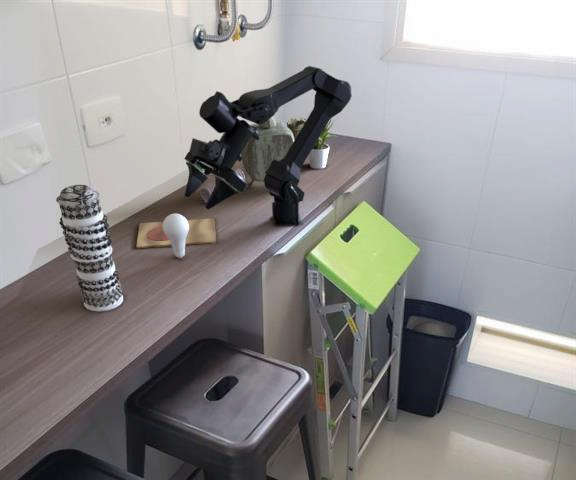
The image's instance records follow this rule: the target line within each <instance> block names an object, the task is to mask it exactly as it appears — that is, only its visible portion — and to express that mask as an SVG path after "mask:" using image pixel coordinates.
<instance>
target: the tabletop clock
mask: <svg viewBox="0 0 576 480" xmlns="http://www.w3.org/2000/svg"><path fill="white" fill-rule="evenodd" d="M279 109H280V107H279V108H278V109H277V111H276V113H277V112H278V111H279ZM249 125H250V126H255V127H257V128H258V134H259V140H256V139H253V138H250V140H249V141H248V143H247V144H246V146H245V148H244V149H243V151H242V153H241V154H240V156H241V157H242V160H241V163H242V166H243V169H244V172H246V174H247V176H249V178H250V179H251V181H249V182H248V183H247V187H248V188H250V189H251V188H253V186H254V184H253V183H254V182H264V178H265V175H266V173H265V172H266V171H267V170H268V168H269V167H270V165H271V162H272V161H273V160H274V159H275V160H277V161H280V160H281V159H283V158H284V157H285V156H286V154H287V152H288V151H289V149H290V147H291V145H292V144H293V142H294V136H293V133H292V131H291V130H290V129H289V128H288V127H287V125H286V124H285V123H283V122H279V121H276V119H275V118H274V116H272V117H271V118H270V119H269V120H268V121H266V122H265V123H263V124H256V123H252V124H249Z"/></svg>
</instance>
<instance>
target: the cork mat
mask: <svg viewBox="0 0 576 480" xmlns="http://www.w3.org/2000/svg"><path fill="white" fill-rule="evenodd" d="M187 221H188V224H189V231H188V234H187V236H186V240H185V246H189V245H191V246H192V245H203V244H217V238H216V226H215V217H214V218H213V217H211V218H197V219H196V218H195V219H187ZM163 222H164V221H153V222H140V223H139V225H138V231H137V238H136V246H135V248H136V249H147V248H148V249H149V248H160V247H162V248H163V247H172V244H171V241H170V240H169V238H168V237H167V236H166V234H165V233H164V230H163Z"/></svg>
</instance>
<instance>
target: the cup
mask: <svg viewBox="0 0 576 480" xmlns="http://www.w3.org/2000/svg"><path fill="white" fill-rule="evenodd" d="M301 119H303V117H301V118H299V119H297V117H295V118H290V119H288V120H286V126H287V127H288V128H289V129H290V130H291V131H292V133H293V136H294V140H295V139H296V137H297V135H298V134H299V132H300V131H296V130H295V129H300V130H301V129H302V127H303V125H304V124H305V123H304V122H305V121H306V120H307V118H304V119H303V120H305V121H303V120H301ZM301 121H302V122H301ZM303 123H304V124H303Z"/></svg>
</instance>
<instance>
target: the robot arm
mask: <svg viewBox="0 0 576 480" xmlns="http://www.w3.org/2000/svg"><path fill="white" fill-rule="evenodd" d="M312 90H313V91H315V94H314V101H313V108H312V110H311V111H310V112H311V113H309V115H308V116H307V118H306V122H305V124H304V125H303V127H302V129H301V130H300V132H299V134H298V135H297V137H296V139H295V140H294V142H293V144H292V145H291V147H290V149H289V151H288V152H287V154H286V156H285V157H284V158H283V159H281V160H280V161H277V160H275V159H274V160H273V161H272V162H271V165H270V167H269V168H268V170H267V171H266V172H265V173H266V175H265V178H264V181H263V184H264V188H265V189H266V191H267V192H268V195H269V196H270V197H273V202H271V215H272V216H271V217H272V220H273V222H274V224H275V226H291V225H300V224H301V222H300V218H299V216H300V215H299V203H301V202H303V201H304V197H305V192H304V191H303V190H302V189H301V188H300V187H299V186H298V185H299V183H300V180H301V169H302V167H303V165H304V164H305V162H306V161H307V158H309V153H310V152H311V150H312V148H313V147H314V145H315V143H316V142H317V140H318V138H319V137H320V135H321V133H322V132H323V130H324V128H325V127H327V126H326V125H328V124H327V123H329V122H330V120H331V119H333V118H334V117H335V116H337V115H338V114H340V113H341V112H342V111H344V109H345V108H346V107H347V105H348V104H349V103H350V101H351V99H352V96H353V94H352V86H351V84H350V83H349V82H348V81H346V80H342V79H338V78H336V77H334V76H332V75H330V74H328V73H327V72H326V71H324V70H323V69H322V68H319V67H316V66H312V65H308V66H306V67H304V68H303V70H300V71H299V72H296V73H295V74H292V75H291V76H289V77H287V78H286V79H283V80H281V81H280V82H278V83H276V84H274V85H272V86H270V87H268V88H263V89H262V88H261V89H254V90H250V91H247V92H244V93H242V94H241V95H240V96H239V97H238V98H237V99H235V100H233V101H230V100H228V98H227V96H226V95H225V94H224V93H223V92H221V91H219V90H218V91H215V92H214V95H211V96H209V97H208V98H207V99H205V100H204V101H203V102H202V104H201V105H200V108H199V111H198V112H199V113H198V114H199V117H200V118H201V119H202V120H203V121H204V122H206V123H207V124H208V126H210V127H211V128H212V129H213V130H214V131H215V132H216V133H218V134H222V135H221V137H220V138H219V139H217V138H215V139H214V140H209V141H208V142H207V141H204V140H200V139H198V138H194V137H192V139H191V143H190V147H189V151H188V152H187V153H186V155H185V156H184V160H185V165H186V166H187V169H188V177H187V183H186V187H185V190H184V197H186V198H188V199H189V198H190V197H191V196H192V195H193V194H195V192H196V191H197V190H199V188H201V187H202V185H204V183H205V182H206V181H207V180H208V179H209V175H210V174H212V175H214V178H215V179H214V180H215V188H214V190H213V192H212V193H211V195H210V197H209V199H208V201H207V203H205V205H204V208H205V209H206V210H211V209H213V208H214V207H216V206H217V205H219V204H220V203H222V202H223V201H225V200H227V199H229V198H231V197H233V196H235V195H237V196H238V195H239V193H241V194H243V193H244V192H245V190H246V188H247V187H248V185H247V180H246V179H245V180H244V179H243V178H242V177H241V176H240V175H239V174H238V173H236V172H235V171H234V170H235V169H233V167H234V166H235V164H236V163H237V161H238V162H241V163H242V156H241V153H242V151H243V149H244V148H245V146H246V144H247V143H248V141H249V140H250V138H253V139H256V140H259V134H258V128H257V127H255V126H250V125H251V124H249V123H248V122H251V123H253V124H263V123H265V122H266V121H268V120H269V119H270V118H271V117H274V116H275V115H276V113H277V112H278V111H277V109H278V108H279V109H280V108H281V107H282V106H284V105H287V104H288V103H290V102H292V101H293V100H294V99H297V98H299V97H300V96H302V95H304V94H306V93H308V92H310V91H312ZM279 109H278V110H279ZM276 111H277V112H276ZM238 117H240V118H242V119H239V118H238ZM332 117H333V118H332ZM220 178H222V179H220Z"/></svg>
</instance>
